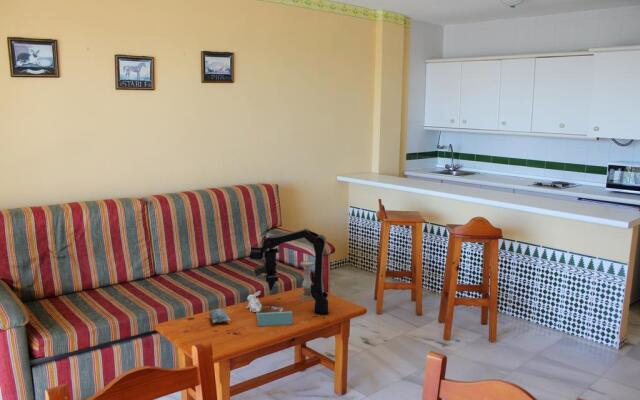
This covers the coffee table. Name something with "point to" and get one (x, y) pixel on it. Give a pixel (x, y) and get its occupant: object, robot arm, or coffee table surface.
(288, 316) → the display stand
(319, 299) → the robot arm
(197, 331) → the coffee table surface
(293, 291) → the coffee table surface
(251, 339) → the coffee table surface
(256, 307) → the rabbit figurine
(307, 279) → the candle holder
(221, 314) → the packaged food
